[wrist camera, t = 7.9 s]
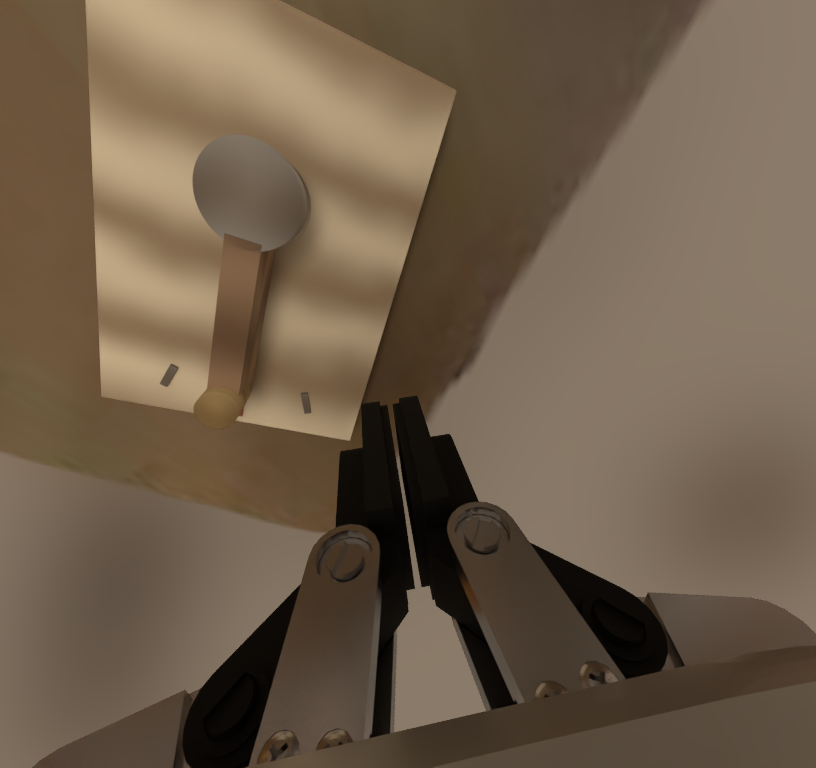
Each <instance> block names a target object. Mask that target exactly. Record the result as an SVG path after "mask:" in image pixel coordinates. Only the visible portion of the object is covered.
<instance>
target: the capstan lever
mask: <svg viewBox="0 0 816 768" xmlns="http://www.w3.org/2000/svg"><path fill="white" fill-rule="evenodd" d="M192 185H193V193H194V197H195V201H196V203H197V206H198V209H199V211H200V213H201V215H202V216H203V218H204V219H205V221H206V222H207V224H208V225H209V226H210V228H211V229H212V230H213V231H214V232H215V233H216V234H217V235H219V236H220V237H221V238H222V239H224V241H223V250H222V259H221V268H220V277H219V286H218V295H217V304H216V313H215V322H214V331H213V340H212V349H211V357H210V366H209V375H208V384H207V389H206V390H205V392H204V393H203V394H202V395H201V396H200V397H199V399H198V400H197V401H196V402H195V404H194V408H193V411H194V415H195V417H196V418H197V420H198V421H199V422H200V423H202V424H203V425H205V426H207V427H209V428H213V429H224V428H227V427H229V426H231V425H232V424H233V423H234V422H235V421H236V419H237V417H238V416H239V414H240V412H241V411H242V409H243V407H244V405H245V404H246V402H247V400H248V398H249V397H250V393H251V392H252V386H253V380H254V374H255V368H256V362H257V356H258V350H259V345H260V339H261V333H262V327H263V321H264V315H265V309H266V304H267V298H268V292H269V286H270V280H271V274H272V268H273V263H274V257H275V251H276V248H278V247H281V246H283V245H286V244H289V243H291V242H293V241H294V240H296V239H297V238H298V237H299V236H300V235H301V234H302V233H303V232H304V230H305V228H306V226H307V224H308V221H309V218H310V212H311V203H310V196H309V192H308V189H307V186H306V184H305V182H304V180H303V178H302V177H301V175H300V174H299V173H298V171H297V170H296V169H295V168H294V167H293V166H292V165H291V164H290V163H289V162H288V161H287V160H286V159H285V158H284V157H283V156H281V155H280V154H279V153H278V152H277V151H276V150H275V149H273V148H272V147H271V146H269V145H268V144H266V143H265V142H263V141H261V140H258V139H256V138H253V137H250V136H246V135H226V136H223V137H219V138H217V139H215V140H213V141H212V142H211V143H209V144H208V145H207V146H206V147H205V148H204V149H203V150H202V152H201V153H200V154H199V156H198V158H197V160H196V163H195V166H194V170H193V180H192Z"/></svg>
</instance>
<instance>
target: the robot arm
mask: <svg viewBox="0 0 816 768" xmlns="http://www.w3.org/2000/svg"><path fill="white" fill-rule="evenodd" d="M361 409H362V438H363V448H358V449H352V450H346V451H341V453H340V462H339V479H338V496H337V513H336V528H334V529H332V530H330V531H328V532H327V533H326V534H325V535H323V536H322V537H321V538H320V539H319V540H318V542H317V543H316V544H315V545H314V546H313V548H312V551H311V553H310V555H309V558H308V561H307V564H306V568H305V572H304V575H303V578H302V582H301V584H300V585H299V586H298V587H297V588H296V589H295V590H294V591H293V592H292V593H291V595H290V596H289V597H288V598H287V599H286V600H285V601H284V602H283V603H282V604H281V605H280V606H279V607H278V608H277V609H276V610H275V611H274V612H273V613H272V614H271V615H270V616H269V617H268V618H267V619H266V620H265V621H264V622H263V623H262V624H261V625H260V626H259V627H258V628H257V629H256V630H255V631H254V632H253V634H252V635H251V636H250V637H249V638H248V639H247V640H246V641H245V642H244V643H243V644H242V645H241V646H240V647H239V648H238V649H237V650H236V651H235V652H234V653H233V654H232V655H231V656H230V657H229V658H228V659H227V660H226V661H225V663H223V664H222V665H221V666H220V667H219V668H218V669H217V670H216V672H215V673H214V674H213V675H212V676H211V677H210V678H209V680H208V681H207V682H206V683H205V684H204V686H203V687H202V688H201V689H199V690H197V691H194V692H192V693H190V694H188V693H187V691H186V690H184V691H181V692H179V693H177V694H175V695H173V696H171V697H169V698H166V699H164V700H162V701H160V702H158V703H156V704H153V705H151V706H149V707H147V708H145V709H143V710H141V711H138V712H136V713H134V714H132V715H130V716H128V717H125V718H123V719H121V720H119V721H117V722H115V723H113V724H111V725H108V726H106V727H104V728H102V729H100V730H97V731H95V732H93V733H91V734H89V735H87V736H85V737H83V738H80V739H78V740H76V741H74V742H72V743H69V744H67V745H65V746H63V747H61V748H59V749H58V750H56V751H54V752H53V753H51V754H49V755H48V756H47V757H45V758H43V759H42V760H40V761H39V762H38V763H37V764H36V765H35V766H33V767H32V768H816V633H815V632H814V631H812V630H811V628H809V627H808V626H807V625H806V624H805V623H804V622H803V621H802V620H800V619H799V618H797V617H796V616H794V615H793V614H791V613H790V612H788V611H787V610H785V609H783V608H781V607H779V606H777V605H774V604H772V603H770V602H768V601H764V600H759V599H754V598H747V597H727V596H708V595H707V596H706V595H688V594H668V593H648V594H647V596H646V597H635V596H634V595H633V594H631V593H629V592H628V591H626V590H625V589H623V588H621V587H619V586H617V585H615V584H613V583H610V582H609V581H607V580H605V579H603V578H601V577H598V576H596V575H594V574H592V573H590V572H588V571H586V570H584V569H582V568H580V567H578V566H576V565H574V564H572V563H570V562H568V561H566V560H564V559H562V558H560V557H558V556H556V555H554V554H552V553H550V552H548V551H546V550H544V549H542V548H540V547H538V546H536V545H534V544H532V543H530V542H529V541H528V540H527V538H526V537H525V535H524V534H523V532H522V531H521V530H520V528H519V527H518V525H517V524H516V523H515V521H514V520H513V518H512V517H511V516H510V515H509V514H508V513H507V512H506V511H504V510H503V509H501V508H500V507H498V506H496V505H493V504H490V503H487V502H479V501H478V499H477V497H476V494H475V492H474V490H473V487H472V485H471V482H470V480H469V478H468V475H467V473H466V470H465V468H464V466H463V463H462V461H461V458H460V456H459V454H458V451H457V449H456V446H455V444H454V442H453V439H452V437H451V435H450V434H446V435H439V436H433V437H430V434H429V431H428V428H427V425H426V422H425V418H424V415H423V412H422V409H421V406H420V403H419V400H418V397H417V396H411V397H405V398H399V403H397V404H393V410H394V418H395V425H396V433H397V440H398V448H399V456H400V463H401V471H402V477H403V483H404V489H405V495H406V501H407V506H408V512H409V517H410V524H411V529H412V534H413V541H414V546H415V552H416V558H417V563H418V568H419V575H420V580H421V586H422V587H425V586H430V589H431V594H432V599H433V600H434V599H435V603H436V606H437V607H439V608H440V609H441V610H443V611H444V612H446V613H448V614H449V615H450V616H451V617H452V620H453V625H454V628H455V630H456V632H457V635H458V638H459V641H460V643H461V646H462V649H463V651H464V654H465V657H466V659H467V662H468V664H469V667H470V670H471V672H472V675H473V678H474V680H475V683H476V685H477V688H478V691H479V693H480V696H481V698H482V701H483V704H484V707H485V709H486V712H481V713H476V714H472V715H468V716H463V717H459V718H455V719H450V720H446V721H442V722H437V723H434V724H429V725H425V726H420V727H416V728H412V729H407V730H403V731H399V732H394V717H395V714H394V713H395V686H396V685H395V684H396V653H397V631H396V629H397V628H398V626H399V625H400V623H401V622H402V620H403V619H404V617H405V616H406V614H407V613H408V599H407V592H406V590H410V589H414V588H415V586H414V579H413V571H412V564H411V557H410V549H409V542H408V535H407V528H406V520H405V513H404V506H403V500H402V493H401V487H400V481H399V475H398V469H397V462H396V456H395V450H394V444H393V438H392V432H391V426H390V420H389V413H388V407H387V405H383V406H380V402H379V401H378V402H371V403H365V404H361Z"/></svg>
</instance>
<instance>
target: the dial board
mask: <svg viewBox="0 0 816 768" xmlns="http://www.w3.org/2000/svg"><path fill="white" fill-rule="evenodd" d="M86 21H87V46H88V71H89V96H90V121H91V146H92V171H93V196H94V220H95V245H96V270H97V295H98V320H99V345H100V370H101V395H102V397H107V398H112V399H118V400H123V401H129V402H135V403H140V404H146V405H152V406H157V407H163V408H168V409H174V410H180V411H185V412H191V413H194V411H193V408H194V404H195V402H196V401H197V400H198V399H199V397H200V396H201V395H202V394H203V393H204V392H205V390H206V389H207V384H208V375H209V366H210V357H211V349H212V340H213V331H214V322H215V313H216V304H217V295H218V286H219V277H220V268H221V259H222V250H223V241H224V239H222V238H221V237H220V236H219V235H217V234H216V233H215V232H214V231H213V230H212V229H211V228H210V226H209V225H208V224H207V222H206V221H205V219H204V218H203V216H202V215H201V213H200V211H199V209H198V206H197V203H196V201H195V197H194V193H193V185H192V180H193V170H194V166H195V163H196V160H197V158H198V156H199V154H200V153H201V152H202V150H203V149H204V148H205V147H206V146H207V145H208V144H209V143H211V142H212V141H213V140H215V139H217V138H219V137H223V136H226V135H246V136H250V137H253V138H256V139H258V140H261V141H263V142H265V143H266V144H268V145H269V146H271V147H272V148H273V149H275V150H276V151H277V152H278V153H279V154H280V155H281V156H283V157H284V158H285V159H286V160H287V161H288V162H289V163H290V164H291V165H292V166H293V167H294V168H295V169H296V170H297V171H298V173H299V174H300V175H301V177H302V178H303V180H304V182H305V184H306V186H307V189H308V192H309V196H310V203H311V212H310V218H309V221H308V224H307V226H306V228H305V230H304V232H303V233H302V234H301V235H300V236H299V237H298V238H297V239H296V240H294V241H293V242H291V243H289V244H286V245H283V246H281V247H278V248H276V251H275V257H274V263H273V268H272V274H271V280H270V286H269V292H268V298H267V304H266V309H265V315H264V321H263V327H262V333H261V339H260V345H259V350H258V356H257V362H256V368H255V374H254V380H253V386H252V392H251V393H250V397H249V398H248V400H247V402H246V404H245V405H244V407H243V409H242V411H241V412H240V414H239V416H238V417H237V419H236V421H241V422H247V423H253V424H258V425H264V426H269V427H275V428H281V429H286V430H292V431H298V432H303V433H309V434H314V435H320V436H326V437H331V438H337V439H342V440H348V441H350V438H351V435H352V432H353V428H354V425H355V422H356V418H357V415H358V412H359V409H360V405H361V402H362V399H363V396H364V392H365V389H366V386H367V382H368V379H369V376H370V373H371V369H372V366H373V363H374V360H375V356H376V353H377V350H378V346H379V343H380V340H381V337H382V333H383V330H384V327H385V324H386V320H387V317H388V314H389V311H390V307H391V304H392V301H393V297H394V294H395V291H396V288H397V284H398V281H399V278H400V275H401V271H402V268H403V265H404V261H405V258H406V255H407V252H408V248H409V245H410V242H411V239H412V235H413V232H414V229H415V225H416V222H417V219H418V216H419V212H420V209H421V206H422V203H423V199H424V196H425V193H426V189H427V186H428V183H429V180H430V176H431V173H432V170H433V167H434V163H435V160H436V157H437V154H438V150H439V147H440V144H441V140H442V137H443V134H444V131H445V127H446V124H447V121H448V118H449V114H450V111H451V108H452V104H453V101H454V98H455V95H456V91H457V90H455V89H453V88H451V87H449V86H447V85H446V84H444V83H442V82H440V81H438V80H436V79H434V78H432V77H430V76H428V75H426V74H424V73H422V72H420V71H418V70H416V69H414V68H412V67H410V66H408V65H406V64H404V63H402V62H400V61H398V60H396V59H394V58H392V57H390V56H389V55H387V54H385V53H383V52H381V51H379V50H377V49H375V48H373V47H371V46H369V45H367V44H365V43H363V42H361V41H359V40H357V39H355V38H353V37H351V36H349V35H347V34H345V33H343V32H341V31H339V30H337V29H335V28H333V27H332V26H330V25H328V24H326V23H324V22H322V21H320V20H318V19H316V18H314V17H312V16H310V15H308V14H306V13H304V12H302V11H300V10H298V9H296V8H294V7H292V6H290V5H288V4H286V3H284V2H282V1H280V0H86Z"/></svg>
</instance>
